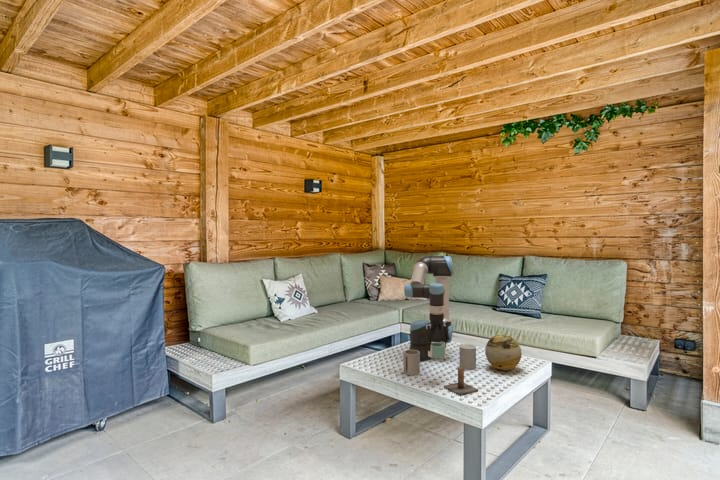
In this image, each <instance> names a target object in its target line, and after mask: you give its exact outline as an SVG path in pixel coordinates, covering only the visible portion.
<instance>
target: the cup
mask: <svg viewBox="0 0 720 480" xmlns="http://www.w3.org/2000/svg"><path fill="white" fill-rule="evenodd" d="M403 374H404V375H405V374H406V375H405V376H408V375H410V376H409V377H415V375H417V376H419V375H420V374H421V361H420V352H419V351H417V350H409V349H406V350H403ZM411 375H412V376H411Z"/></svg>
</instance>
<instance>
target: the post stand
mask: <svg viewBox="0 0 720 480" xmlns="http://www.w3.org/2000/svg"><path fill="white" fill-rule="evenodd" d="M443 389H444V390H447V389H448V390H447V391H449V392H452V393H453V392H454V393H453V394H455V393H456V394H455V395H457V394H458V395H457V396H459V395H460V396H459V397H462V396H461V395H463V396H466V395H469V393H470V394H474V393H477V392H479V389H478V388H476V387H474V386H472V385H470V384H467V383H465V370H464V368H463V367H457V382H455V383H451V384H447V385H444V386H443Z"/></svg>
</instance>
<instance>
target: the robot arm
mask: <svg viewBox="0 0 720 480" xmlns="http://www.w3.org/2000/svg"><path fill="white" fill-rule="evenodd" d="M426 275H432V278H433V279H434V281H435V282H434V283H430V284H424V283H425V277H426ZM453 275H455V274H454V264H453V258H452V257H451V256H449V255H425V256H423V257H420V258H419V259H417V260H416V261H415V262H414V264H413V266H412V276H411V279H410V281H409V283H405V284H404V290H403V292H404V293H403V294H404V297H405V298H409V299H410V298H411V299H412V298H413V299H414V298H415V299H417V298H418V299H429V308H428V309H429V310H428V311H429V316H428V317H429V319H428V320H427V319H418V320H413V321H412V322H410V326H409V333H410V334H409V337H410V338H409V339H410V342H409V344H410V345H409V347H408V350H417V351H419V352H420V362H425V361H426V362H427V361H430V360H432V359H433V358H432V345H431V343H433V342H437V343H442V344H445V349H447V344H449V343H451V342H452V340H453V339H452V338H453V332H454V324H453V323H452V320H451V319H450V317H449V315H450V279H452V276H453Z"/></svg>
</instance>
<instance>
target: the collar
mask: <svg viewBox="0 0 720 480" xmlns="http://www.w3.org/2000/svg"><path fill="white" fill-rule="evenodd" d="M431 345H432V358H431V359H444V358H445V355H446V348H445V344H442V343H440V342H432V343H431Z"/></svg>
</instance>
